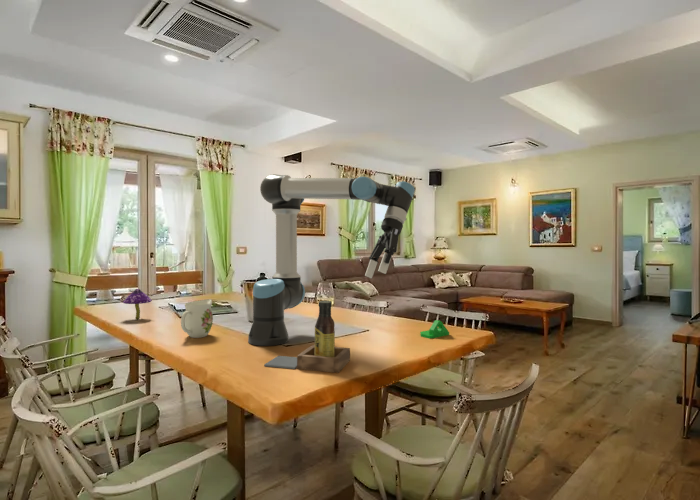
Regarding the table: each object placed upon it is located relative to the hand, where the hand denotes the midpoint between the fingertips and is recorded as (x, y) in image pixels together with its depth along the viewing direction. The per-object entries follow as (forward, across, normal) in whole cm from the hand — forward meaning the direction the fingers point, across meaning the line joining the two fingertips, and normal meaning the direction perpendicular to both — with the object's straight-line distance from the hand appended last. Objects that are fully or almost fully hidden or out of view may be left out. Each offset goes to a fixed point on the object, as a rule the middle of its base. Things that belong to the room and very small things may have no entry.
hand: (374, 274), depth 141 cm
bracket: (+8, +23, -40) cm, 46 cm away
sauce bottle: (+34, -4, +7) cm, 35 cm away
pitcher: (+42, +45, +48) cm, 78 cm away
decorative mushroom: (+46, +89, +79) cm, 127 cm away
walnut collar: (+34, -4, +7) cm, 35 cm away
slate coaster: (+38, 0, +18) cm, 42 cm away
